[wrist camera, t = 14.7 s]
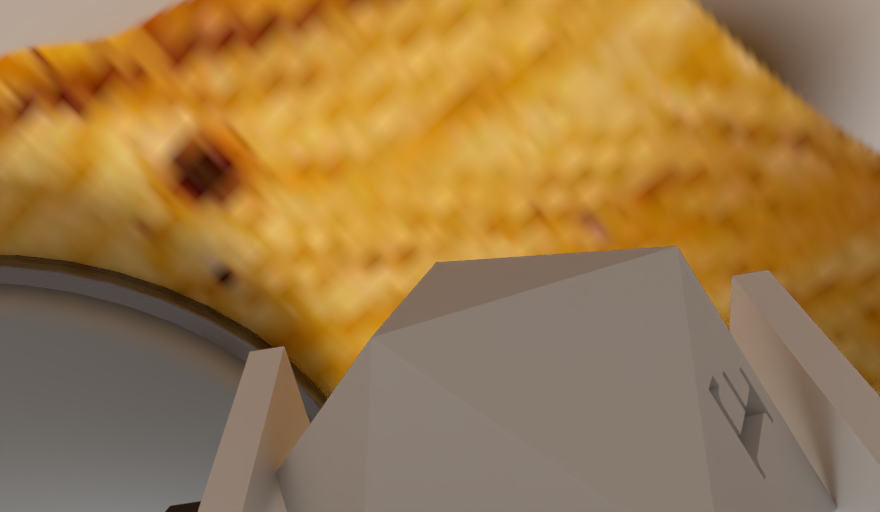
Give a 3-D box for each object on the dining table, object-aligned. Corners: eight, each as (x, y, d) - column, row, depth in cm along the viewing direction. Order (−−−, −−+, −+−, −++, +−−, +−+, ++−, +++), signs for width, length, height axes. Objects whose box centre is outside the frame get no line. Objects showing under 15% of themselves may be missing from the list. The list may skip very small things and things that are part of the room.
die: (668, 475, 19) (1101, 611, 9) (400, 717, 16) (639, 1225, 7) (499, 208, 18) (787, 78, 9) (193, 415, 15) (154, 531, 6)
